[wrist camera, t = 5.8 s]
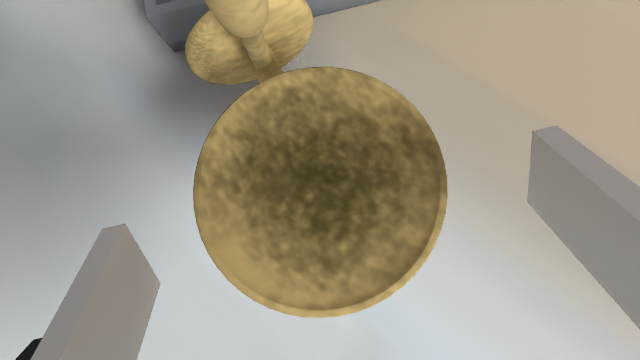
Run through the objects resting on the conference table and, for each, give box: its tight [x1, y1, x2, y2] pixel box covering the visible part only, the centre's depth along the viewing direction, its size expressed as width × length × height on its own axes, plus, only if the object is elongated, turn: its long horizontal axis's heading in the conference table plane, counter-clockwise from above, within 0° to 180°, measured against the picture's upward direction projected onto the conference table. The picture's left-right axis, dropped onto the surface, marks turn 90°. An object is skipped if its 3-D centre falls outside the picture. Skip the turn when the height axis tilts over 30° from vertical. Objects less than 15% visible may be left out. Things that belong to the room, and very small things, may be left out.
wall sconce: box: [185, 0, 447, 318], centre depth 14 cm, size 14×10×25 cm
